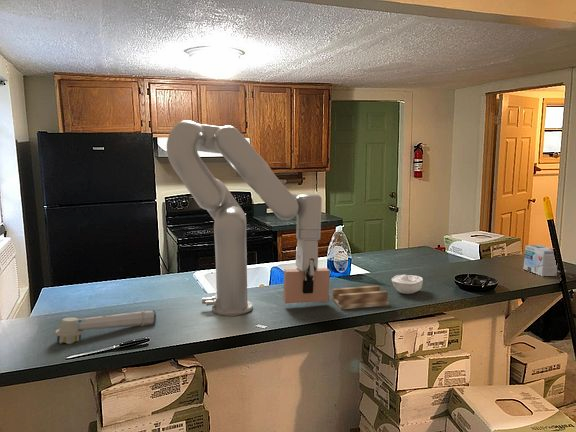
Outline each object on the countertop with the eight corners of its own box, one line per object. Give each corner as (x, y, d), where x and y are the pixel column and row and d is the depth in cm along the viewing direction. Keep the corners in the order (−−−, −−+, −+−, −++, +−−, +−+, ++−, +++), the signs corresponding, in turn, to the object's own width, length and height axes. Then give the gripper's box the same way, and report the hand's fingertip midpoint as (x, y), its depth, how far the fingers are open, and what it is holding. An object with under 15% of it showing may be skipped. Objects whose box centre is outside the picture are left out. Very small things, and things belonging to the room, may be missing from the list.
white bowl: (429, 292, 151) (430, 273, 150) (408, 299, 143) (409, 279, 143) (405, 285, 159) (406, 267, 158) (384, 292, 151) (385, 273, 150)
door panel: (285, 303, 134) (286, 271, 133) (283, 300, 137) (284, 269, 136) (328, 301, 137) (329, 270, 136) (325, 298, 140) (326, 268, 139)
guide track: (341, 309, 135) (341, 296, 134) (331, 299, 144) (331, 287, 144) (389, 305, 138) (389, 293, 137) (376, 295, 148) (376, 284, 147)
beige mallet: (157, 312, 122) (58, 319, 108) (155, 335, 123) (56, 345, 109) (152, 307, 127) (55, 313, 113) (150, 329, 127) (54, 338, 113)
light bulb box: (522, 270, 178) (524, 245, 177) (537, 269, 180) (539, 244, 178) (542, 277, 168) (544, 250, 167) (557, 276, 169) (559, 249, 168)
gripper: (290, 229, 141) (289, 284, 144) (303, 239, 126) (301, 300, 128) (312, 229, 143) (311, 283, 146) (327, 238, 127) (325, 299, 130)
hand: (306, 290), depth 137 cm, fingers closed on door panel, 3 cm apart
